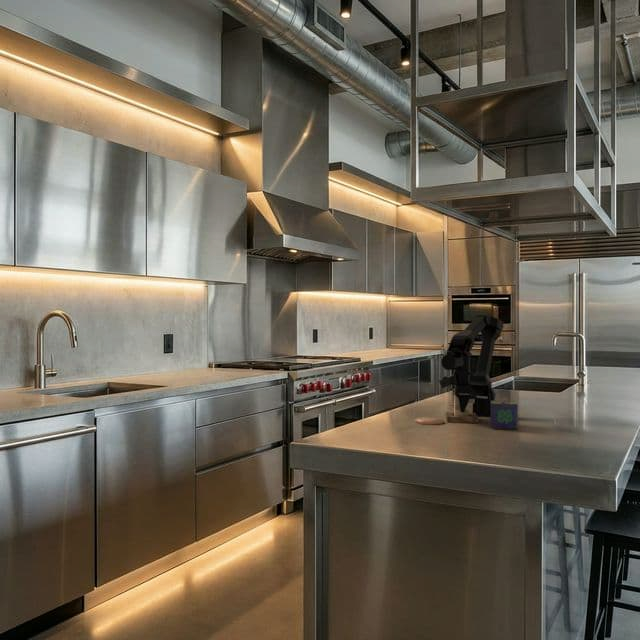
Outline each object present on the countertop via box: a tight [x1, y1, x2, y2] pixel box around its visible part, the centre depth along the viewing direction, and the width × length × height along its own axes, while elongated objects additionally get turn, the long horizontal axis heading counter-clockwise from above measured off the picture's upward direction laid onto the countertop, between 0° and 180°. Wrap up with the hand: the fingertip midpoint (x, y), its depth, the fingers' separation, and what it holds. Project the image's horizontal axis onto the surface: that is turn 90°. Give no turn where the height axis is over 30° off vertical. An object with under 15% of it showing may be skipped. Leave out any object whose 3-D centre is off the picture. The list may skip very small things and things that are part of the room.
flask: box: [489, 397, 519, 431], centre depth 213 cm, size 9×3×11 cm, turn 88°
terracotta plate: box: [414, 416, 444, 426], centre depth 225 cm, size 10×10×1 cm
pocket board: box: [445, 411, 479, 424], centre depth 231 cm, size 11×11×2 cm
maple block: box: [453, 394, 470, 416], centre depth 231 cm, size 5×4×9 cm
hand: (461, 410), depth 231 cm, fingers open, 7 cm apart
